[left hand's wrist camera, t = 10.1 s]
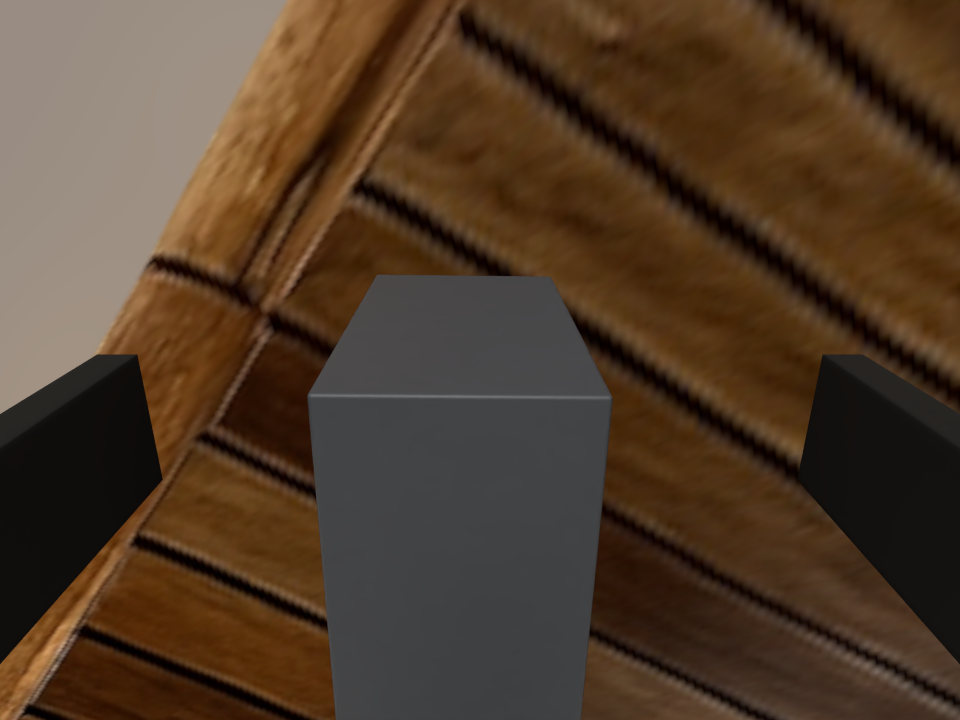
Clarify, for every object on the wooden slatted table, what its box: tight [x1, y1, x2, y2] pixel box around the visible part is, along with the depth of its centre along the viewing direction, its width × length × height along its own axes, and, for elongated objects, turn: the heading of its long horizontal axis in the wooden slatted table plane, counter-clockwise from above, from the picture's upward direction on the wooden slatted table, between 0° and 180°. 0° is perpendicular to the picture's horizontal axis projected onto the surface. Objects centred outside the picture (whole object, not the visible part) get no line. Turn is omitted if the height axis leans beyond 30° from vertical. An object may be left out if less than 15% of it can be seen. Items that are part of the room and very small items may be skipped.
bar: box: [308, 275, 613, 720], centre depth 19 cm, size 24×5×8 cm, turn 179°
